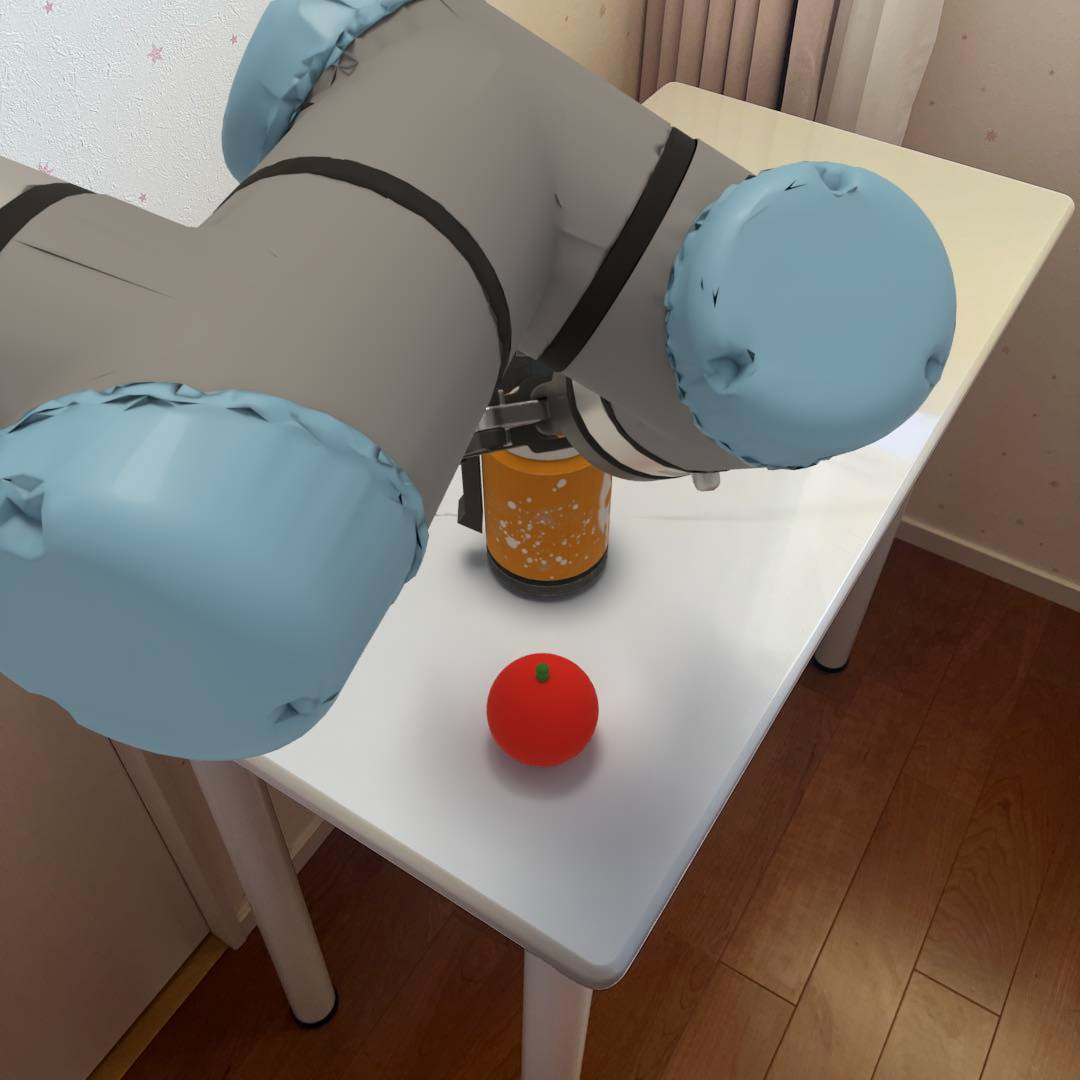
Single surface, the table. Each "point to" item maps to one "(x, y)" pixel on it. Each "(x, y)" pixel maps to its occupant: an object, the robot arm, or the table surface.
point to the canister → (538, 509)
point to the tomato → (542, 709)
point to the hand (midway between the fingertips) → (561, 425)
